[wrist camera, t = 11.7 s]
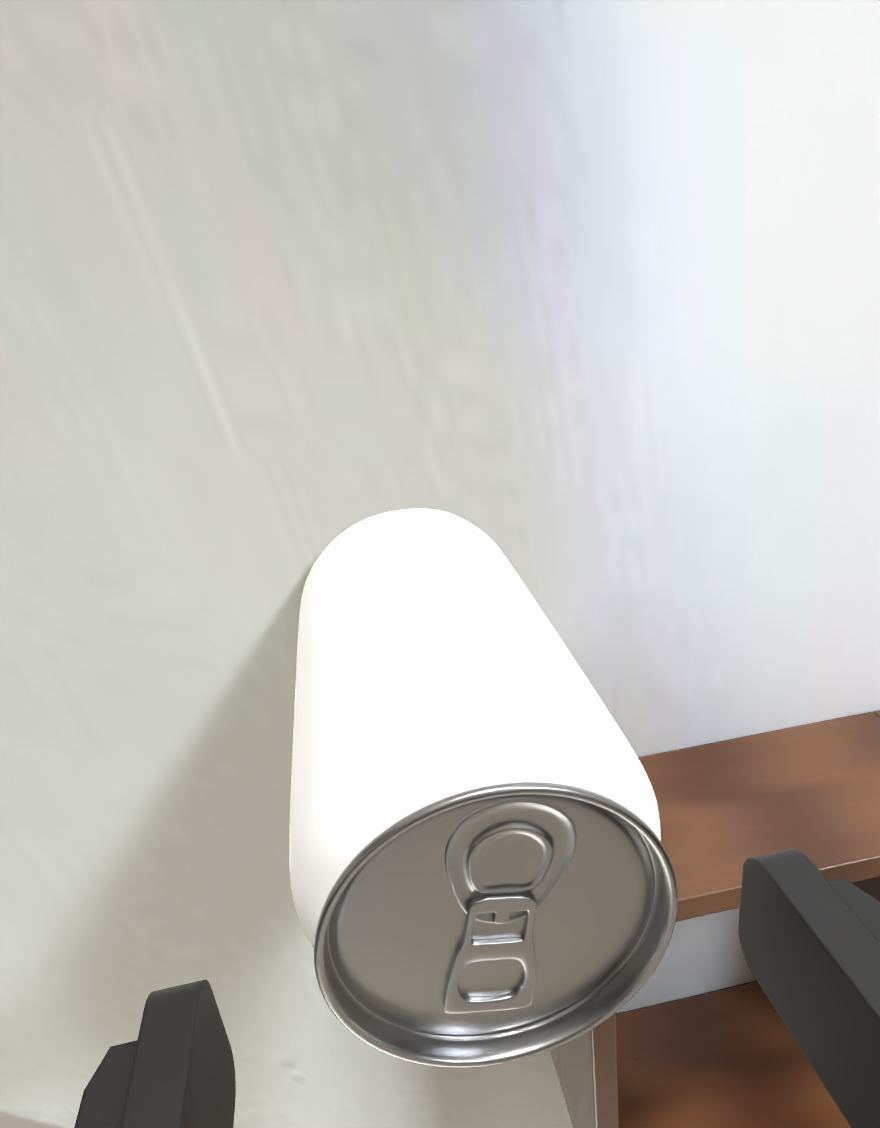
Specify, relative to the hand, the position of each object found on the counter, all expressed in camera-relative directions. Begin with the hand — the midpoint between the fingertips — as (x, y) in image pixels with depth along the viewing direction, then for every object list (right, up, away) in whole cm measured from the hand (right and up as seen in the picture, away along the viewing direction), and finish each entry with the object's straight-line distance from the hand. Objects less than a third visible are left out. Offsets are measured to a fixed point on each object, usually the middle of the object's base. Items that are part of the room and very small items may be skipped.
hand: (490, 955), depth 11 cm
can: (-2, +5, +11) cm, 12 cm away
